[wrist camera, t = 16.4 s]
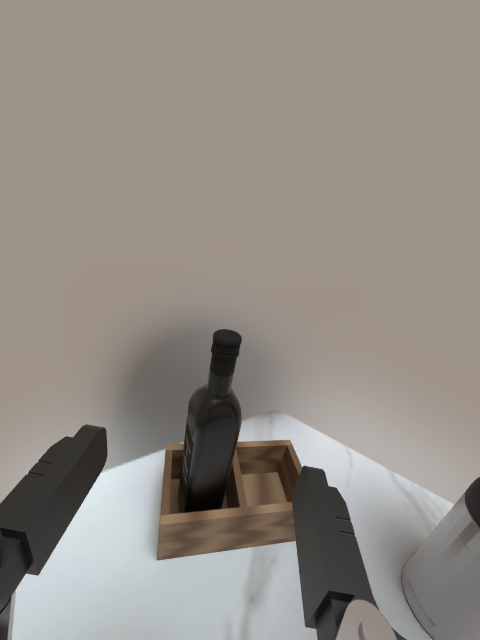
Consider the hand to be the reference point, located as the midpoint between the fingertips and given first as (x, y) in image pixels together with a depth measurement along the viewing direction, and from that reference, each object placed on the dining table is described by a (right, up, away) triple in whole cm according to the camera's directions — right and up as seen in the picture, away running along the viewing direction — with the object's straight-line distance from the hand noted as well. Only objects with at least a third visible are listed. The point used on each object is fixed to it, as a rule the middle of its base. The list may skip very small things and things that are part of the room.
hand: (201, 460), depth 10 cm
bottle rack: (0, -24, +30) cm, 39 cm away
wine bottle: (-5, -23, +29) cm, 37 cm away
